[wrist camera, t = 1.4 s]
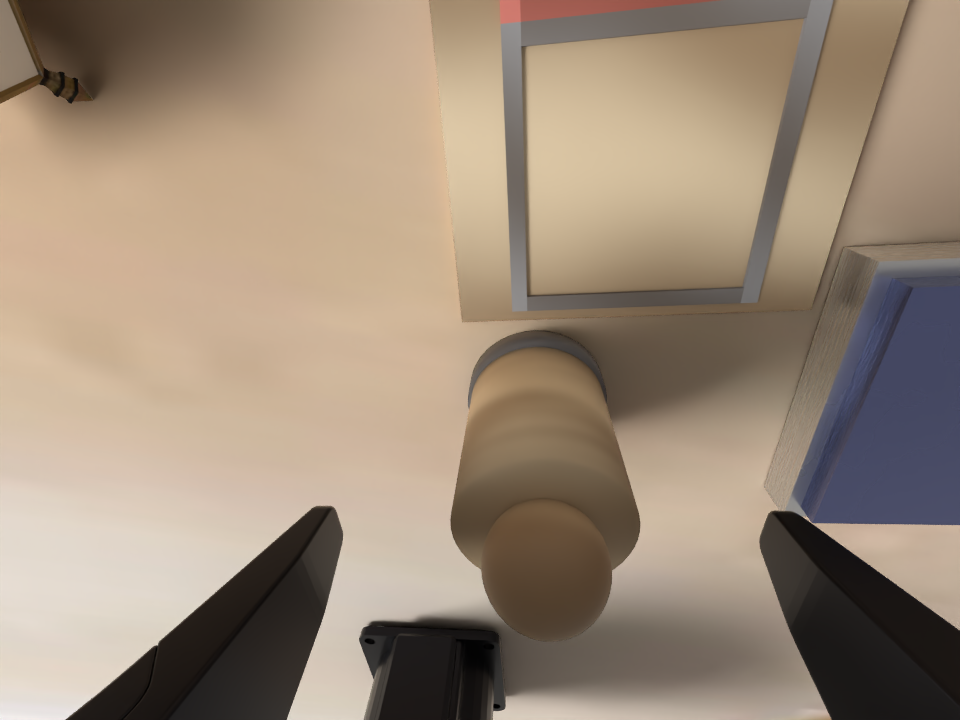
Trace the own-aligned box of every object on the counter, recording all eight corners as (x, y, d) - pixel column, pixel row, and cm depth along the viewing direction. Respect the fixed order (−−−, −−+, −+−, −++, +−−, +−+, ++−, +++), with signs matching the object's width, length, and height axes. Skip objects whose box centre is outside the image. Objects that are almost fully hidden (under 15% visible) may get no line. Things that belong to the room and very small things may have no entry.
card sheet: (804, 305, 11) (813, 311, 11) (463, 317, 12) (461, 323, 12) (1124, -734, 5) (1169, -798, 5) (376, -546, 6) (368, -587, 6)
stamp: (598, 440, 14) (660, 699, 8) (475, 440, 15) (442, 687, 8) (606, 328, 12) (698, 553, 6) (465, 333, 13) (410, 547, 6)
